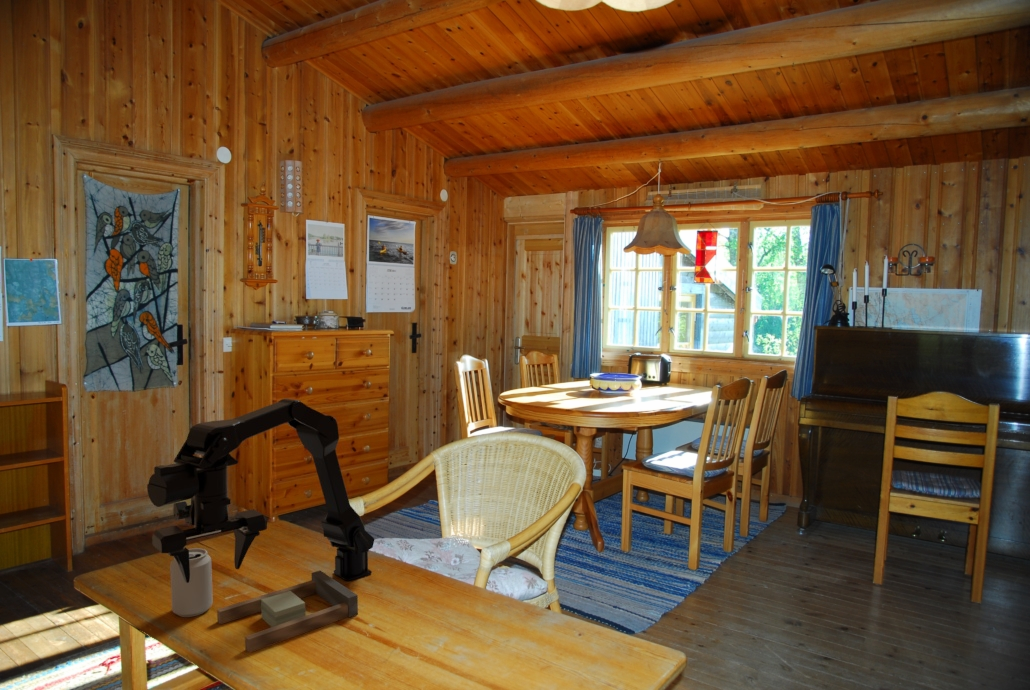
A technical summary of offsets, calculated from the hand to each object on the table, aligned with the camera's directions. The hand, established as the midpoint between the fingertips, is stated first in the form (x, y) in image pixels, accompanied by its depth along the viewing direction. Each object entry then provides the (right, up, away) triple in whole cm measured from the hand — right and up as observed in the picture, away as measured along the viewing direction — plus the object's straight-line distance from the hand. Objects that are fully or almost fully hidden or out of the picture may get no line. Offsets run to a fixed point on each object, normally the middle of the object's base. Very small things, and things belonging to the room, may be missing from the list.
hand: (212, 575), depth 128 cm
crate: (+10, -12, +9) cm, 18 cm away
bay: (+11, -12, +10) cm, 19 cm away
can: (-10, -12, +13) cm, 20 cm away
